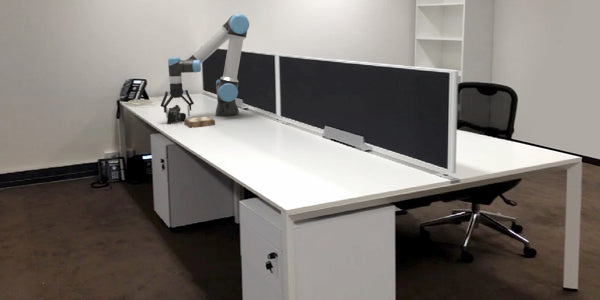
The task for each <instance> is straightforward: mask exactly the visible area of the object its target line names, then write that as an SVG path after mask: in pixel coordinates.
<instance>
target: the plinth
mask: <svg viewBox="0 0 600 300" xmlns="http://www.w3.org/2000/svg"><path fill="white" fill-rule="evenodd" d="M183 123H184V125H185V126H187V127H188V128H189V129H190V128H191V129H193V128H199V127H201V128H202V127H209V126H215V125H216V119H214V118H212V117H210V116H200V117H199V116H198V117H190V118H186V119H184V121H183ZM192 127H193V128H192Z"/></svg>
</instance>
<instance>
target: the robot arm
mask: <svg viewBox="0 0 600 300" xmlns="http://www.w3.org/2000/svg"><path fill="white" fill-rule="evenodd" d="M249 28H250V21H249V19H248V17H247V16H246V15H244V14H242V13H236V14H233V15H231V16H230V17H229V18H228V19H227V21H226V22H225V23H224V24H223V25H222V26H221V29H219V31H217V32H216V33H215V34H214V35H213V36H212V37H211V38H210V39H208V40H207V41H206V42H205V43H204V44H203V45H202V46H200V48H199V49H197V50H196V51H195V52H194V53H193V54H192V55H191V56H189V57H188V58H186V60H185V59H184V60H182V59H181V57H179V56H175V57H174V56H172V57H169V58H168V59H167V64H168V65H167V66H168V67H167V68H168V77H169V78H168V79H169V91H167V90H165V91H164V95H163V98H162V101H161V103H160V107H161V108H163V112H164V114H165V117H166V119H167V118H168V110H169V108H168V105H169V104H170V103H171V102H172V100H174V99H180V98H181V99H182V100H183V101H184V102H185V103H186V104H188V105H187V106H186V107H187V116H188V117H191V111H192V105H194V104H195V103H194V101H193V99H192V97H191V96H190V94H189V91H188V89H185V90H183V83H182V82H183V79H182V77H183V75H182V74H183V73H187V74H188V73H200V72H201V71H202V66H201V65H202V63H203V62H204V61H205V60H207V59H209V57H210V56H211V55H213V53H215V52H217V51H216V50H218V49H219V48H220V47H221V46H222V45H223V44H225V43H226V42H227V41H228V42H227V43H228V44H227V50H226V51H227V52H226V55H225V56H226V57H225V64H224V69H223V75H222V76H221V77H220V78H219V79H217V80H216V82H215V87H216V98H217V99H216V100H217V101H216V102H217V104H216V108H215V116H218V117H230V116H231V117H232V116H236V115H239V114H240V110H239V107H238V105H237V102H236V99H237V97H238V95H239V89H238V87H239V80H238V73H239V67H240V62H241V61H240V60H241V55H242V50H243V43H244V40H245V39H247V34H248V30H249ZM169 94H170V96H169ZM184 94H185V95H186V97H187V98H186V97H185V95H184ZM168 96H169V98H168ZM167 98H168V99H167ZM187 99H188V100H187Z"/></svg>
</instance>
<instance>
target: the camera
mask: <svg viewBox="0 0 600 300" xmlns="http://www.w3.org/2000/svg"><path fill="white" fill-rule="evenodd" d="M181 110H182V109H181V107H180V105H179V104H175V106H173V107H169V108H168V118H166V124H167V125H173V124H174V123H177V122H181V121H183V122H184V119H187V117H186V116H187V114H186V113H185V112H181Z"/></svg>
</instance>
